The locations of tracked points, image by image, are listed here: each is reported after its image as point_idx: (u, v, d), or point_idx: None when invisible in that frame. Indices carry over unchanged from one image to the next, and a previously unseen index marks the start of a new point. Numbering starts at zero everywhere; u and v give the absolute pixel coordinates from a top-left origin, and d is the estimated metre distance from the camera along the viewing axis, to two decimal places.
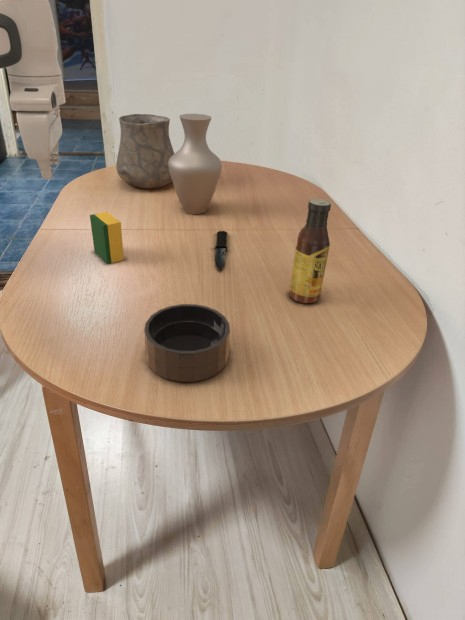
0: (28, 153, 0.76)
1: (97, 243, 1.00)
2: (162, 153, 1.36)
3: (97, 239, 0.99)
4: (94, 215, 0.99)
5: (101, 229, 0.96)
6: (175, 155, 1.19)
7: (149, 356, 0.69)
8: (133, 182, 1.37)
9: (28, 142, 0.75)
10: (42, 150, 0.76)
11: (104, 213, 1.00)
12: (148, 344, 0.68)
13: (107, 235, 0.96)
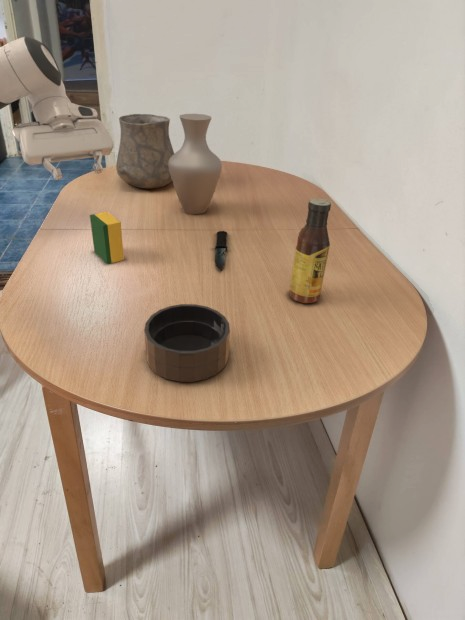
0: None
1: (97, 243, 1.00)
2: (162, 153, 1.36)
3: (97, 239, 0.99)
4: (94, 215, 0.99)
5: (101, 229, 0.96)
6: (175, 155, 1.19)
7: (149, 356, 0.69)
8: (133, 182, 1.37)
9: None
10: None
11: (104, 213, 1.00)
12: (148, 344, 0.68)
13: (107, 235, 0.96)
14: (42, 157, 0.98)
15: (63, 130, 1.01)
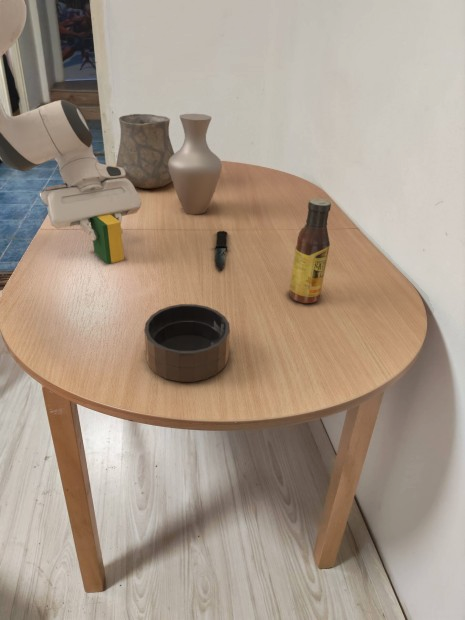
0: None
1: (97, 243, 1.00)
2: (162, 153, 1.36)
3: None
4: None
5: (101, 229, 0.96)
6: (175, 155, 1.19)
7: (149, 356, 0.69)
8: (133, 182, 1.37)
9: None
10: None
11: None
12: (148, 344, 0.68)
13: (107, 235, 0.96)
14: (80, 219, 0.96)
15: (91, 191, 0.99)
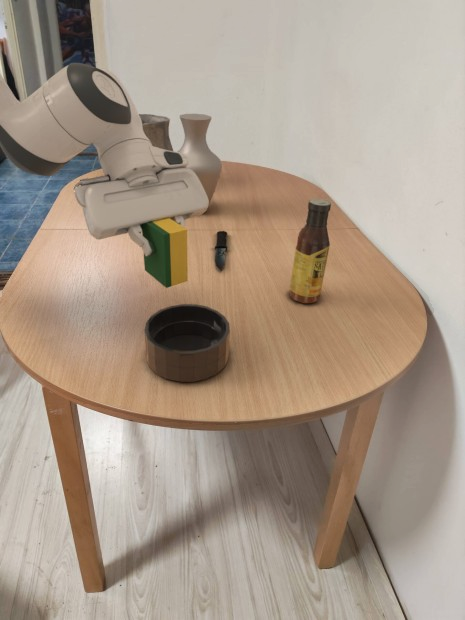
0: (208, 201, 0.76)
1: (151, 258, 0.72)
2: None
3: None
4: None
5: (160, 240, 0.67)
6: None
7: (149, 356, 0.69)
8: None
9: None
10: None
11: None
12: (148, 344, 0.68)
13: (169, 248, 0.68)
14: (130, 226, 0.68)
15: (143, 186, 0.70)
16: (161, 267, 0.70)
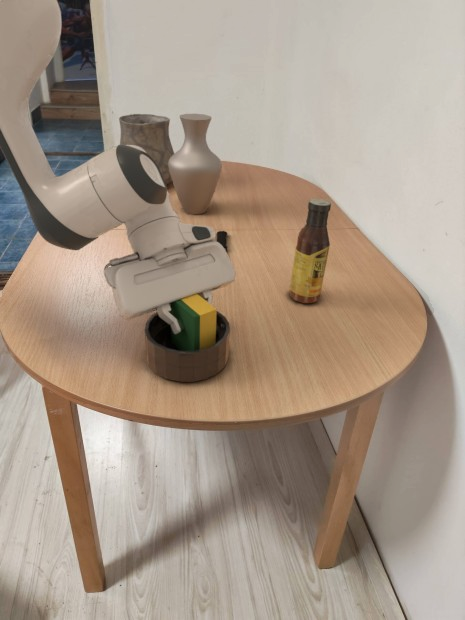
0: (235, 273, 0.75)
1: (179, 334, 0.71)
2: (162, 153, 1.36)
3: None
4: None
5: (190, 320, 0.67)
6: (175, 155, 1.19)
7: (149, 356, 0.69)
8: None
9: None
10: None
11: None
12: (148, 344, 0.68)
13: (198, 328, 0.67)
14: (159, 306, 0.68)
15: (172, 264, 0.70)
16: (190, 345, 0.70)
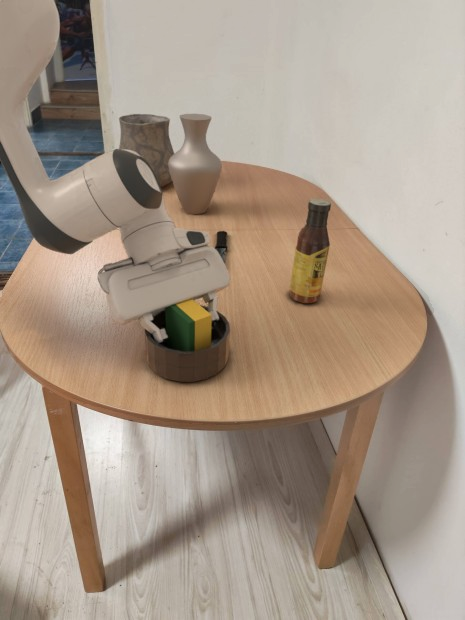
0: None
1: (174, 339, 0.71)
2: (162, 153, 1.36)
3: (175, 335, 0.71)
4: None
5: (185, 326, 0.67)
6: (175, 155, 1.19)
7: (149, 356, 0.69)
8: None
9: None
10: None
11: None
12: (148, 344, 0.68)
13: (193, 334, 0.67)
14: (141, 315, 0.67)
15: (166, 269, 0.70)
16: (185, 350, 0.70)
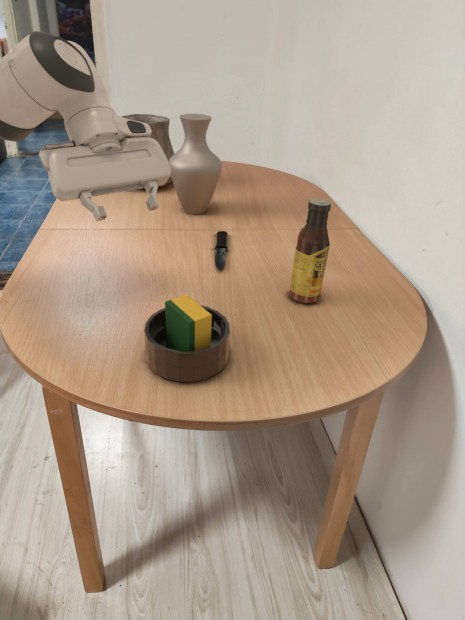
0: None
1: (174, 339, 0.71)
2: None
3: (175, 335, 0.71)
4: (171, 301, 0.70)
5: (185, 326, 0.67)
6: (175, 155, 1.19)
7: (149, 356, 0.69)
8: None
9: None
10: None
11: (184, 298, 0.71)
12: (148, 344, 0.68)
13: (193, 334, 0.67)
14: (80, 191, 0.71)
15: (106, 153, 0.74)
16: (185, 350, 0.70)
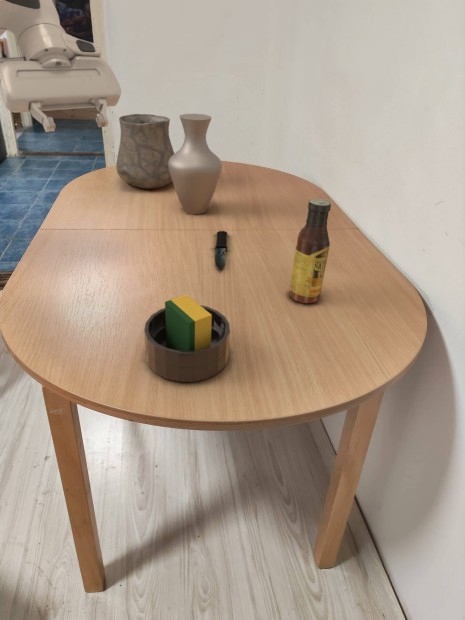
0: (120, 89, 0.84)
1: (174, 339, 0.71)
2: (162, 153, 1.36)
3: (175, 335, 0.71)
4: (171, 301, 0.70)
5: (185, 326, 0.67)
6: (175, 155, 1.19)
7: (149, 356, 0.69)
8: (133, 182, 1.37)
9: None
10: None
11: (184, 298, 0.71)
12: (148, 344, 0.68)
13: (193, 334, 0.67)
14: (29, 101, 0.75)
15: (56, 69, 0.78)
16: (185, 350, 0.70)
